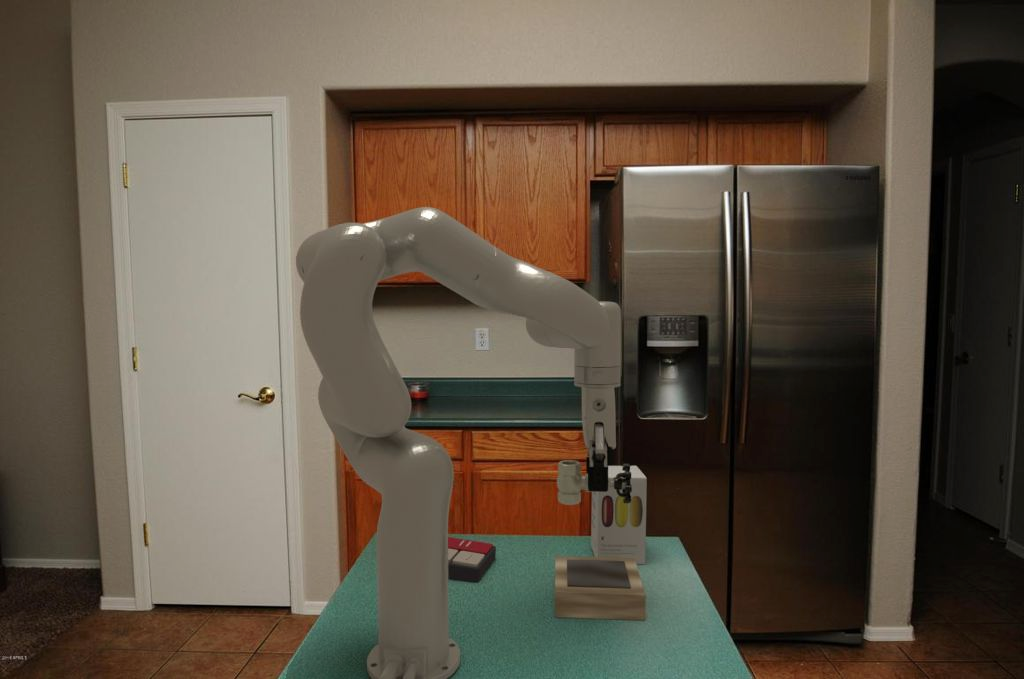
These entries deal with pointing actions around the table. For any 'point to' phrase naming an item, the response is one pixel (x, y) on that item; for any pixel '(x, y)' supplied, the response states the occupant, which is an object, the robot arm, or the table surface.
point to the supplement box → (620, 519)
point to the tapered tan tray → (598, 588)
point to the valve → (574, 482)
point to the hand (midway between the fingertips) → (596, 484)
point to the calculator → (469, 559)
